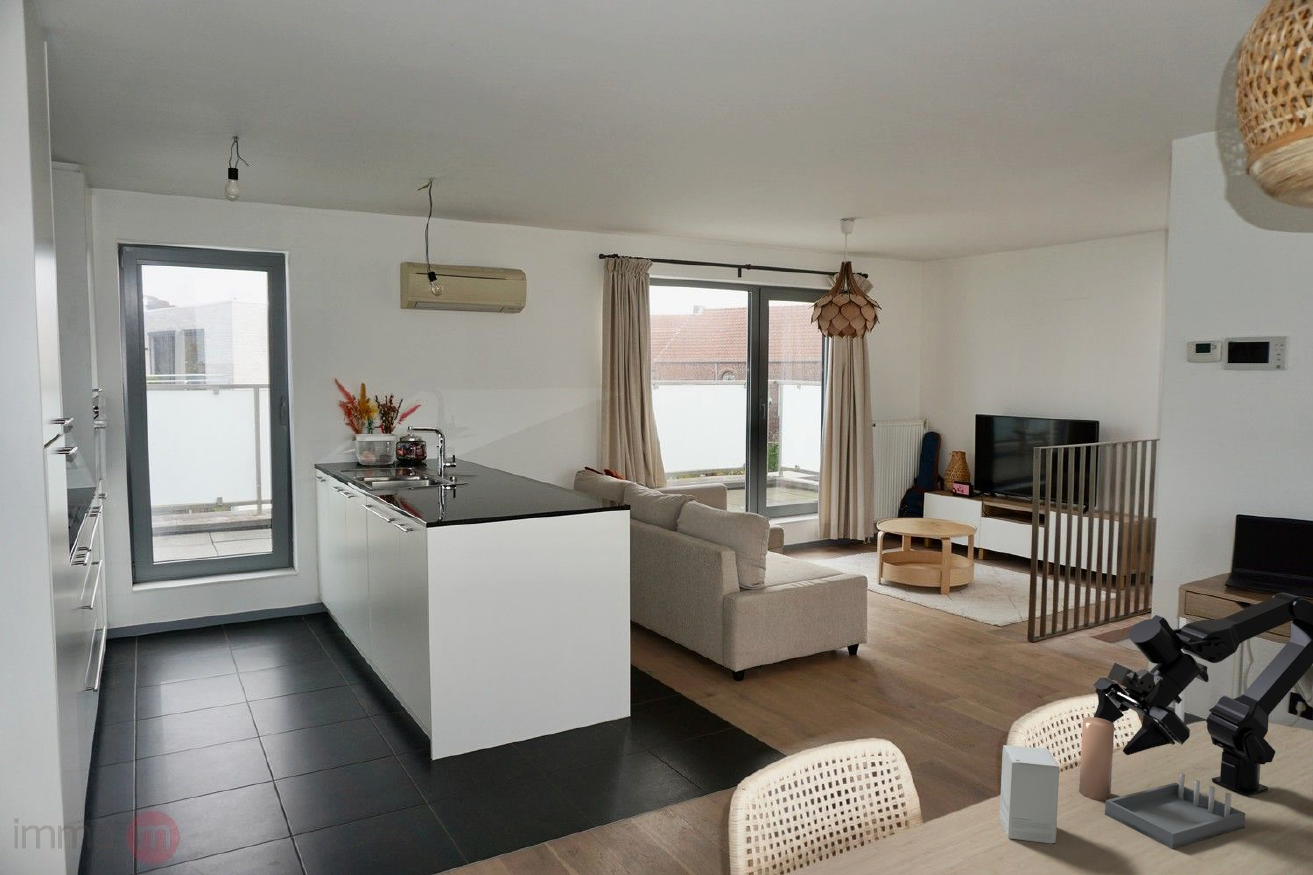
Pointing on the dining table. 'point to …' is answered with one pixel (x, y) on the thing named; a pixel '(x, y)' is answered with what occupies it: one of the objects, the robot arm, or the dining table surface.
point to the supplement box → (1029, 794)
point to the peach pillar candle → (1096, 758)
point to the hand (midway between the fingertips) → (1107, 742)
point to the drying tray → (1176, 813)
